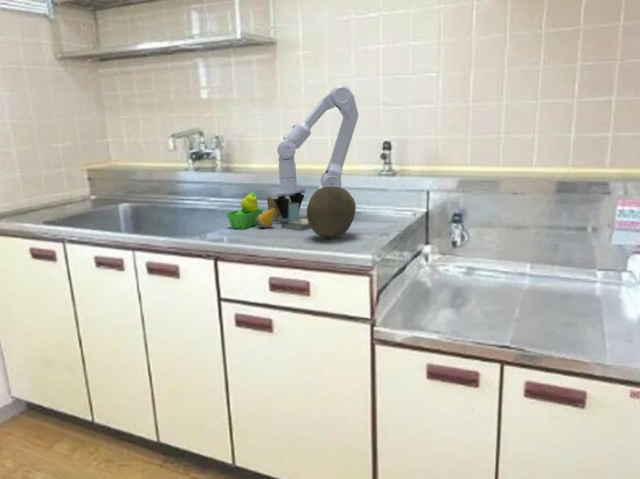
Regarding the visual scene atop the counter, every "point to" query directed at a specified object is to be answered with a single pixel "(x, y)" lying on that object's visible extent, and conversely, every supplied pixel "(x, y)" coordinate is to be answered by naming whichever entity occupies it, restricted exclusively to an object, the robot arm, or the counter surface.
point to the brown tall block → (272, 205)
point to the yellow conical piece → (265, 219)
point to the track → (276, 218)
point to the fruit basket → (245, 213)
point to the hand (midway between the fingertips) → (290, 216)
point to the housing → (292, 212)
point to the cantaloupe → (331, 212)
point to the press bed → (297, 224)
